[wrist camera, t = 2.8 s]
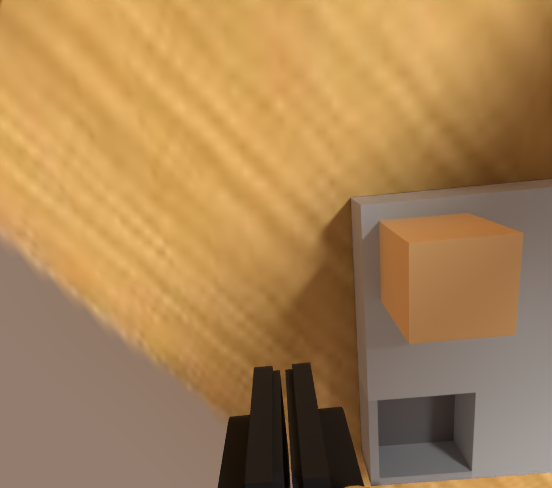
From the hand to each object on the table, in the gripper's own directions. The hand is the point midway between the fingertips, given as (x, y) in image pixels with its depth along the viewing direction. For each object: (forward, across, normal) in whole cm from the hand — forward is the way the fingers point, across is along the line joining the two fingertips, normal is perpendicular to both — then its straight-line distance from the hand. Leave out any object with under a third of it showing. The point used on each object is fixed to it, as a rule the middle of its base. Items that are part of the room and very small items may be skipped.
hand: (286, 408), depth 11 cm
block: (+12, -8, 0) cm, 14 cm away
